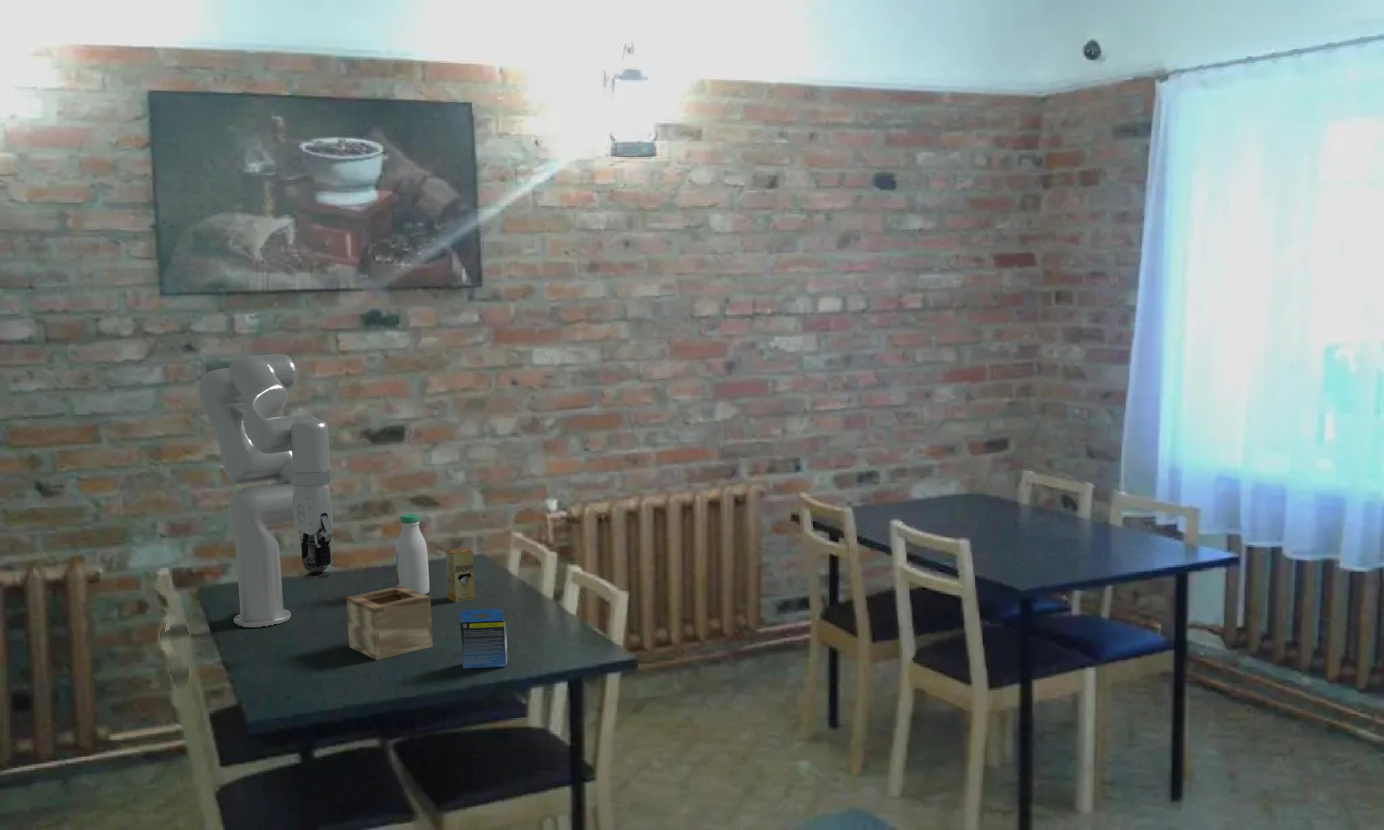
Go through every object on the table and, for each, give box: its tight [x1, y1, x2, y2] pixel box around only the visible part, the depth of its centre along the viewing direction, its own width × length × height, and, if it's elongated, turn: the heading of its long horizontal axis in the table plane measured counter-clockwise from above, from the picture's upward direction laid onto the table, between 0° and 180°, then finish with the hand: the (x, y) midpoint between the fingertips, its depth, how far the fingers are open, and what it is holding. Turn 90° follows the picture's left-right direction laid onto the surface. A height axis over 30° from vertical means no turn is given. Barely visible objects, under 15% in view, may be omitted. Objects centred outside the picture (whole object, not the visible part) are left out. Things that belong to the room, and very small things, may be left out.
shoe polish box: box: [445, 547, 476, 604], centre depth 304 cm, size 5×5×12 cm
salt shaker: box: [301, 530, 331, 580], centre depth 263 cm, size 6×6×12 cm
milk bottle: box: [395, 513, 430, 595], centre depth 310 cm, size 8×8×20 cm
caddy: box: [345, 585, 434, 661], centre depth 266 cm, size 13×13×11 cm
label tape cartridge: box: [459, 607, 508, 670], centre depth 252 cm, size 9×4×12 cm, turn 92°
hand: (316, 561), depth 263 cm, fingers closed on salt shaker, 5 cm apart
